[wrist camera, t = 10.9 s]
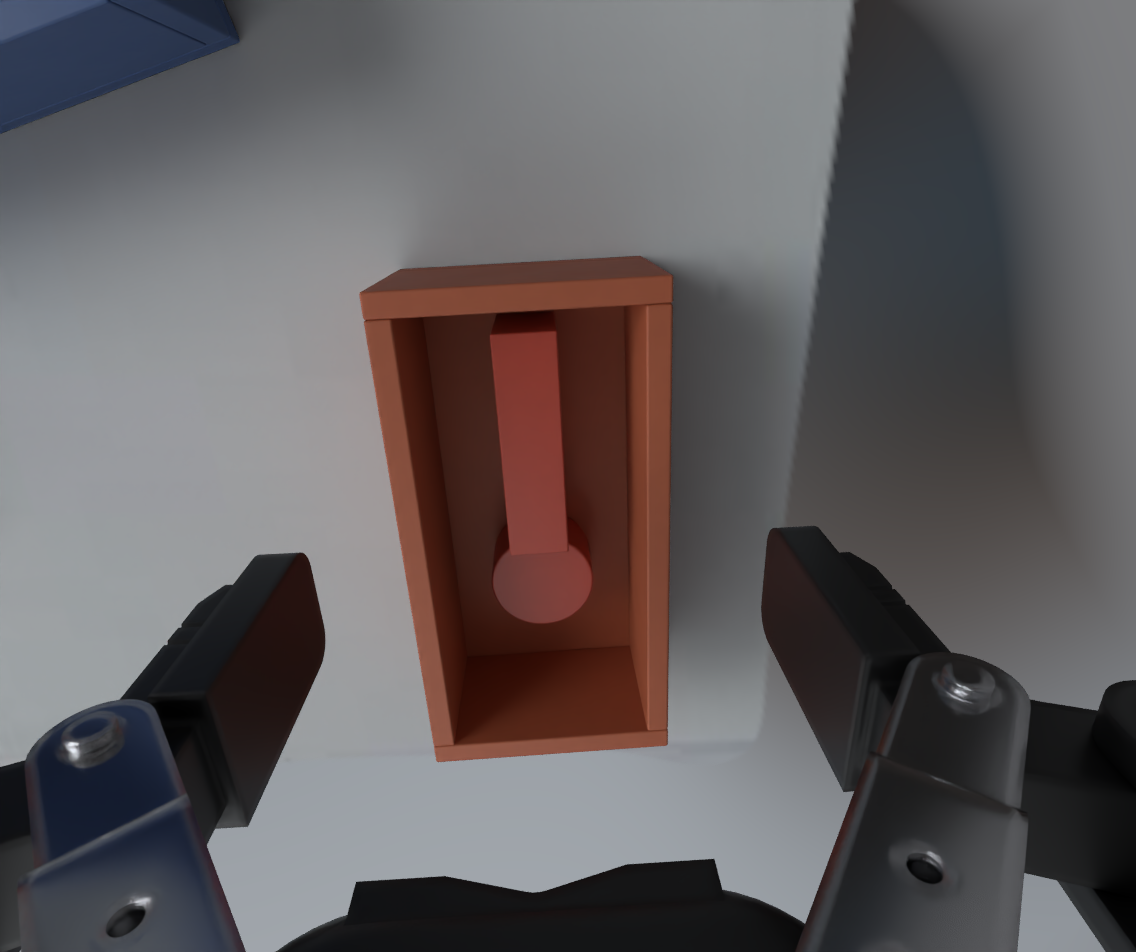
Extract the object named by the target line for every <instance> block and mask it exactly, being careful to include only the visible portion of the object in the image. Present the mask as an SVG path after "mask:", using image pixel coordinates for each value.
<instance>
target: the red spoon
mask: <svg viewBox="0 0 1136 952" xmlns="http://www.w3.org/2000/svg"><path fill="white" fill-rule="evenodd" d="M490 346H491V356H492V367H493V378H494V389H495V399H496V410H497V421H498V431H499V442H500V453H501V463H502V474H503V485H504V496H505V506H506V517H507V525H506V526H505V527H504V528H503V529H502V531H501V532H500V534H499V536H498V538H497V541H496V544H495V551H494V560H493V569H492V578H491V581H492V589H493V592H494V595H495V597H496V599H497V601H498V602H499V604H500V605H501V606H502V607H503V609H504V610H505V611H507V612H508V613H509V614H510V615H512V616H514V617H515V618H517V619H519V620H522V621H525V622H529V623H534V624H549V623H555V622H559V621H562V620H564V619H566V618H568V617H570V616H572V615H573V614H575V613H576V612H577V611H578V610H580V609H581V608H582V606H583V605H584V604H585V603H586V601H587V600H588V598H589V596H590V594H591V591H592V587H593V570H592V563H591V557H590V550H589V544H588V541H587V538H586V536H585V534H584V532H583V530H582V529H581V528H580V527H579V525H578V524H576V523H575V522H574V521H573V520H571V519H570V518H568V517H567V506H566V487H565V469H564V451H563V432H562V414H561V395H560V377H559V358H558V340H557V329H556V322H555V316H554V312H534V313H517V314H499V315H496V317H495V320H494V324H493V327H492V330H491V333H490Z"/></svg>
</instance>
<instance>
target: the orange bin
mask: <svg viewBox="0 0 1136 952" xmlns="http://www.w3.org/2000/svg"><path fill="white" fill-rule="evenodd" d="M359 295H360V301H361V307H362V313H363V318H364V320H365V321H364V326H365V332H366V338H367V344H368V350H369V356H370V362H371V368H372V374H373V380H374V386H375V392H376V399H377V405H378V411H379V417H380V423H381V429H382V435H383V441H384V447H385V453H386V459H387V465H388V471H389V477H390V483H391V489H392V495H393V501H394V507H395V513H396V520H397V526H398V532H399V538H400V544H401V550H402V556H403V562H404V568H405V574H406V580H407V586H408V592H409V598H410V604H411V610H412V616H413V622H414V628H415V634H416V640H417V647H418V653H419V659H420V665H421V671H422V677H423V683H424V689H425V695H426V701H427V707H428V713H429V719H430V725H431V731H432V737H433V743H434V749H435V755H436V761H437V762H445V761H457V760H458V761H459V760H473V759H487V758H501V757H515V756H528V755H543V754H557V753H570V752H584V751H598V750H612V749H626V748H640V747H654V746H666V745H667V744H668V729H667V727H668V659H669V579H670V498H671V418H672V338H673V305H672V304H671V302H672V301H673V275H671V274H670V273H668V272H666V271H665V270H663V269H662V268H660V267H658V266H657V265H655V264H653V263H652V262H650V261H648V260H647V259H645V258H643V257H641V256H630V257H612V258H594V259H576V260H558V261H539V262H521V263H503V264H485V265H467V266H448V267H430V268H412V269H400V270H398V271H396V272H394V273H393V274H391V275H389V276H388V277H386V278H384V279H382V280H381V281H379V282H377V283H376V284H374V285H372V286H370V287H369V288H367V289H365V290H364V291H362V292H360V294H359ZM534 312H554V316H555V322H556V329H557V340H558V358H559V377H560V395H561V414H562V432H563V451H564V469H565V487H566V506H567V517H568V518H570V519H571V520H573V521H574V522H575V523H576V524H578V525H579V527H580V528H581V529H582V530H583V532H584V534H585V536H586V538H587V541H588V544H589V550H590V557H591V563H592V570H593V587H592V591H591V594H590V596H589V598H588V600H587V601H586V603H585V604H584V605H583V606H582V608H581V609H580V610H578V611H577V612H576V613H575V614H573V615H572V616H570V617H568V618H566V619H564V620H562V621H559V622H555V623H549V624H534V623H529V622H525V621H522V620H519V619H517V618H515V617H514V616H512V615H510V614H509V613H508V612H507V611H505V610H504V609H503V607H502V606H501V605H500V604H499V602H498V601H497V599H496V597H495V595H494V592H493V589H492V581H491V578H492V569H493V560H494V551H495V544H496V541H497V538H498V536H499V534H500V532H501V531H502V529H503V528H504V527H505V526H506V525H507V517H506V506H505V496H504V485H503V474H502V463H501V453H500V442H499V431H498V421H497V410H496V399H495V389H494V378H493V367H492V356H491V346H490V333H491V330H492V327H493V324H494V320H495V317H496V315H499V314H517V313H534Z"/></svg>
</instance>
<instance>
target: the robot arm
mask: <svg viewBox="0 0 1136 952" xmlns="http://www.w3.org/2000/svg"><path fill="white" fill-rule="evenodd" d="M761 612H762V622H763V628H764V632H765V635H766V638H767V641H768V643H769V645H770V647H771V649H772V651H773V653H774V655H775V657H776V659H777V661H778V663H779V665H780V666H781V669H782V671H783V672H784V675H785V677H786V678H787V680H788V683H789V684H790V687H791V688H792V690H793V692H794V694H795V696H796V698H797V700H798V702H799V704H800V706H801V708H802V710H803V712H804V714H805V716H806V718H807V720H808V722H809V724H810V726H811V728H812V730H813V732H814V734H815V736H816V738H817V740H818V742H819V744H820V746H821V748H822V750H823V752H824V754H825V756H826V758H827V760H828V762H829V764H830V766H831V768H832V770H833V772H834V774H835V776H836V778H837V780H838V782H839V784H840V786H841V787H842V790H843V792H849V791H854V794H853V796H852V799H851V802H850V804H849V807H848V810H847V812H846V815H845V818H844V821H843V823H842V826H841V829H840V832H839V834H838V837H837V839H836V842H835V845H834V848H833V850H832V853H831V856H830V858H829V861H828V864H827V866H826V869H825V872H824V875H823V877H822V880H821V883H820V885H819V888H818V891H817V894H816V896H815V899H814V902H813V905H812V907H811V910H810V913H809V915H808V918H807V921H806V923H805V924H804V923H803V922H801V921H800V920H798V919H796V918H795V917H793V916H791V915H789V914H787V913H786V912H784V911H782V910H780V909H778V908H776V907H774V906H772V905H769V904H767V903H765V902H762V901H760V900H758V899H755V898H752V897H748V896H745V895H742V894H739V893H735V892H731V891H726V890H722V887H721V883H720V879H719V876H718V872H717V868H716V864H715V860H714V859H708V860H707V859H706V860H690V861H674V862H659V863H644V864H627V865H624V866H621V867H618V868H615V869H612V870H609V871H606V872H602V873H599V874H596V875H593V876H590V877H587V878H584V879H581V880H578V881H574V882H571V883H568V884H566V885H562V886H559V887H556V888H553V889H550V890H547V891H543V892H536V893H531V892H524V891H518V890H513V889H508V888H503V887H498V886H493V885H488V884H482V883H477V882H472V881H467V880H462V879H456V878H451V877H446V876H442V877H426V878H411V879H410V878H409V879H395V880H378V881H363V882H356V885H355V888H354V892H353V896H352V900H351V904H350V907H349V911H348V915H346V916H343V917H340V918H337V919H334V920H332V921H330V922H327V923H325V924H323V925H321V926H318V927H316V928H314V929H312V930H310V931H308V932H307V933H305V934H303V935H301V936H299V937H298V938H296V939H294V940H292V941H291V942H289V943H288V944H286V945H285V946H284V947H282V948H281V949H279V950H278V951H276V952H1017V947H1018V936H1019V925H1020V913H1021V901H1022V890H1023V879H1024V873H1027V874H1032V875H1036V876H1040V877H1045V878H1049V879H1054V880H1057V881H1058V882H1059V884H1060V885H1061V887H1062V888H1063V890H1064V891H1065V893H1066V894H1067V895H1068V897H1069V898H1070V900H1071V901H1072V903H1073V904H1074V906H1075V907H1076V909H1077V910H1078V912H1079V913H1080V915H1081V916H1082V918H1083V919H1084V920H1085V922H1086V923H1087V925H1088V926H1089V928H1090V929H1091V931H1092V932H1093V934H1094V935H1095V937H1096V938H1097V939H1098V941H1099V942H1100V944H1101V945H1102V947H1103V948H1104V950H1105V951H1106V952H1136V680H1132V681H1131V680H1130V681H1122V682H1118V683H1115V684H1113V685H1111V686H1109V687H1108V688H1107V689H1106V690H1105V693H1104V695H1103V698H1102V701H1101V704H1100V706H1099V710H1098V711H1096V710H1089V709H1083V708H1077V707H1071V706H1065V705H1058V704H1052V703H1046V702H1040V701H1035V700H1030V699H1029V697H1028V694H1027V693H1026V691H1025V690H1024V688H1023V687H1022V686H1021V685H1020V684H1019V683H1018V682H1017V681H1016V680H1015V679H1014V678H1013V677H1012V676H1010V675H1009V674H1007V673H1006V672H1004V671H1003V670H1001V669H1000V668H998V667H996V666H994V665H992V664H989V663H987V662H985V661H983V660H980V659H977V658H974V657H970V656H967V655H963V654H957V653H951V652H950V651H949V650H948V649H947V648H946V647H945V645H944V644H943V643H942V642H941V641H940V640H939V638H938V637H937V636H936V635H935V634H934V633H933V632H932V631H931V629H930V628H929V627H928V626H927V625H926V624H925V623H924V621H923V620H922V619H921V618H920V617H919V616H918V615H917V613H916V612H915V611H914V610H913V609H912V608H911V607H910V606H909V605H906V604H905V600H904V599H903V598H902V597H901V595H900V594H899V593H898V592H897V591H896V590H895V589H892V585H891V584H890V583H889V582H888V581H887V580H886V578H885V577H884V576H883V575H882V574H881V573H880V572H879V570H878V569H877V568H876V567H874V566H873V565H871V564H869V563H867V562H865V561H864V560H862V559H861V558H859V557H857V556H855V555H854V554H852V553H850V552H843V553H839V552H838V551H837V550H836V548H835V547H834V546H833V545H832V544H831V542H830V541H829V540H828V539H827V538H826V536H825V535H824V534H823V533H822V532H821V530H820V529H819V528H818V527H816V526H804V527H785V528H773V529H771V530H770V532H769V535H768V539H767V547H766V558H765V570H764V581H763V592H762V605H761ZM324 652H325V629H324V624H323V620H322V615H321V611H320V606H319V601H318V597H317V592H316V588H315V583H314V579H313V574H312V570H311V566H310V562H309V560H308V558H307V556H306V555H305V554H304V553H284V554H266V555H257V556H255V557H254V558H253V560H252V561H251V562H250V564H249V565H248V566H247V567H246V569H245V570H244V571H243V573H242V574H241V575H240V577H239V578H238V579H237V580H236V582H235V583H234V584H233V585H225V586H223V587H222V588H220V589H219V590H217V591H216V592H214V593H213V594H211V595H210V596H208V597H207V598H206V599H204V600H203V601H201V602H200V603H198V604H197V606H196V607H195V608H194V609H193V610H192V612H191V613H190V614H189V615H188V617H187V618H186V619H185V620H184V621H183V623H182V627H181V628H178V629H177V630H176V631H175V633H174V634H173V635H172V636H171V637H170V639H169V640H168V645H164V646H163V647H162V648H161V650H160V651H159V652H158V653H157V655H156V656H155V657H154V658H153V659H152V661H151V662H150V663H149V664H148V666H147V667H146V668H145V669H144V671H143V672H142V673H141V674H140V675H139V677H138V678H137V679H136V680H135V682H134V683H133V684H132V685H131V686H130V688H129V689H128V690H127V691H126V693H125V694H124V695H123V696H122V697H121V699H120V700H116V701H110V702H106V703H102V704H99V705H96V706H93V707H90V708H87V709H85V710H83V711H81V712H78V713H76V714H74V715H72V716H70V717H69V718H67V719H65V720H63V721H62V722H60V723H59V724H57V725H56V726H54V727H53V728H52V729H50V730H49V731H48V732H46V733H45V734H44V735H43V736H42V737H41V738H40V739H39V740H38V741H37V742H36V743H35V745H34V746H33V747H32V748H31V750H30V752H29V753H28V755H27V758H26V760H25V761H21V762H17V763H14V764H10V765H6V766H3V767H0V952H19V951H20V950H21V952H246V951H245V948H244V945H243V943H242V940H241V937H240V935H239V932H238V929H237V926H236V924H235V921H234V918H233V916H232V913H231V910H230V907H229V905H228V902H227V900H226V897H225V894H224V891H223V889H222V886H221V884H220V881H219V878H218V875H217V873H216V870H215V867H214V864H213V862H212V859H211V856H210V854H209V851H208V848H207V843H208V841H209V839H210V837H211V835H212V833H213V831H214V830H215V829H216V828H233V827H248V825H249V823H250V821H251V819H252V817H253V814H254V812H255V810H256V808H257V805H258V803H259V801H260V799H261V797H262V795H263V792H264V790H265V788H266V786H267V784H268V781H269V779H270V777H271V775H272V773H273V770H274V768H275V766H276V764H277V762H278V759H279V757H280V755H281V753H282V750H283V748H284V746H285V744H286V742H287V739H288V737H289V735H290V733H291V731H292V728H293V726H294V724H295V722H296V720H297V717H298V715H299V713H300V711H301V709H302V706H303V704H304V702H305V700H306V698H307V695H308V693H309V691H310V689H311V687H312V684H313V682H314V680H315V678H316V676H317V673H318V671H319V669H320V667H321V664H322V661H323V657H324Z"/></svg>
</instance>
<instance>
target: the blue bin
mask: <svg viewBox="0 0 1136 952" xmlns="http://www.w3.org/2000/svg"><path fill="white" fill-rule="evenodd" d="M239 41H240V39H239V36H238V34H237V32H236V30H235V27H234V25H233V23H232V21H231V18H230V16H229V14H228V11H227V9H226V7H225V5H224V2H223V0H0V133H3V132H6V131H8V130H11V129H13V128H16V127H19V126H21V125H24V124H27V123H29V122H32V121H34V120H37V119H40V118H42V117H45V116H47V115H50V114H53V113H55V112H58V111H61V110H63V109H66V108H68V107H71V106H74V105H76V104H79V103H82V102H84V101H87V100H89V99H92V98H95V97H97V96H100V95H102V94H105V93H108V92H110V91H113V90H116V89H118V88H121V87H123V86H126V85H129V84H131V83H134V82H137V81H139V80H142V79H144V78H147V77H150V76H152V75H155V74H157V73H160V72H163V71H165V70H168V69H171V68H173V67H176V66H178V65H181V64H184V63H186V62H189V61H191V60H194V59H197V58H199V57H202V56H205V55H207V54H210V53H212V52H215V51H218V50H220V49H223V48H226V47H228V46H231V45H233V44H236V43H238V42H239Z"/></svg>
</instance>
